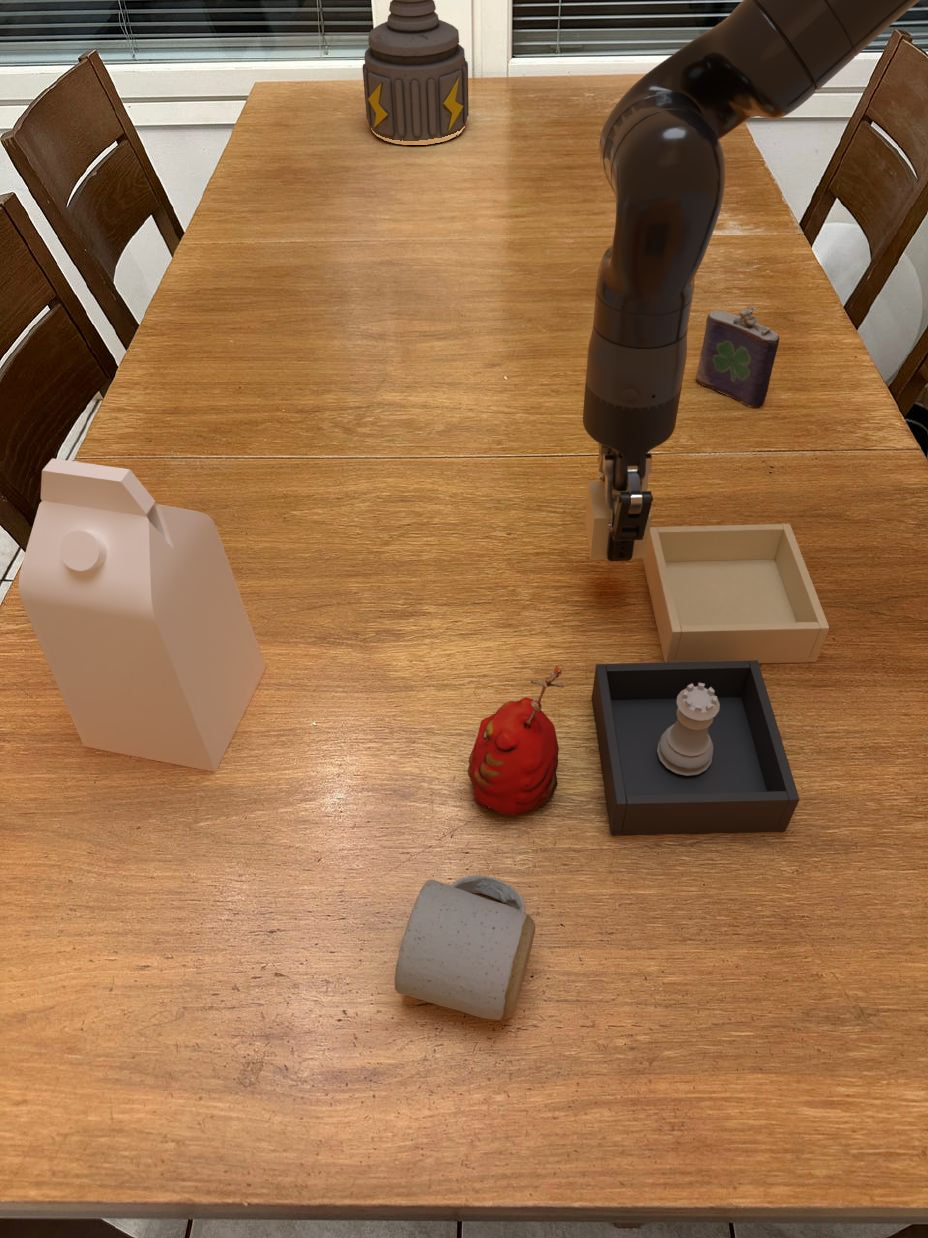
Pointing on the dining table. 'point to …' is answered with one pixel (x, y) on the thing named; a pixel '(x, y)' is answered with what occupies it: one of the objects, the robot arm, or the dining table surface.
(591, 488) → the cream block
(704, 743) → the rook chess piece
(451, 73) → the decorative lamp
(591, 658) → the dining table surface
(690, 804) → the charcoal bin
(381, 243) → the dining table surface
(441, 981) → the ceramic mug
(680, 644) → the ivory bin
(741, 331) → the flask
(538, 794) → the red clay folk toy
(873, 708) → the dining table surface
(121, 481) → the milk
